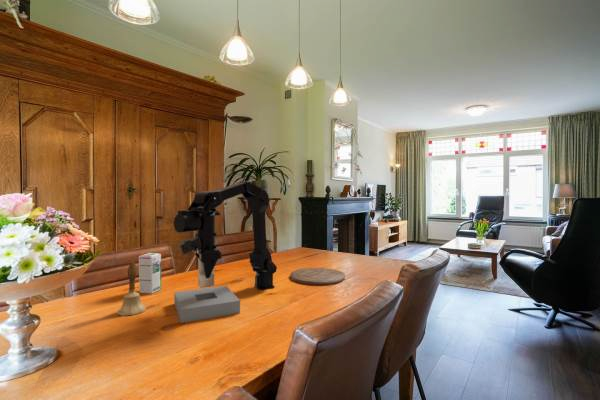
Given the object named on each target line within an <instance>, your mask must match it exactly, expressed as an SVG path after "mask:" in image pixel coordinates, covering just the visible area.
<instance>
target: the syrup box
mask: <svg viewBox="0 0 600 400" xmlns="http://www.w3.org/2000/svg"><path fill="white" fill-rule="evenodd" d="M138 275H139V276H138V279H139V281H138V283H139V285H138V286H139V288H138V290H139V294H140V293H141V294H154V293H156V292H158V291H160V290H162V289H163V288H162V254H161V253H159V252H148V253H145V254H141V255H139V256H138Z"/></svg>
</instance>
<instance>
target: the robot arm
mask: <svg viewBox="0 0 600 400" xmlns="http://www.w3.org/2000/svg"><path fill="white" fill-rule="evenodd" d="M240 195H241V196H242V197H243V198H244V199H245V200H246V201H247V206H248V208H249V210H250V211H251V213H252V226H253V227H252V229H253V230H252V231H253V250H252V252H249V254H248V255H249V263H250V266H251V268H252V271H253V272H255V275H254V286H255V287H256V288H257V289H258V290H266V289H267V290H268V289H271V288H272V289H273V288H275V285H274V274H275V273H276V272H277V268H278V267H277V265H276V264H275V263H274V262H273V260H272V259H273V258H272V253H271V252H270V250H269V249H268V247H267V229H266V227H267V226H266V210H267V209H268V207H269V199H270V198H269V192H267V191H266V190H264V189H262V187H259V186H257V185H255V184H253V183H252V182H251V181H248V180H242V181H241V180H240V181H238V182H236V183H234V184H230V185H228V186H224V187H222V188H219V189H217V190H204V191H199V192H196V193H195V194H194V197H193V198H194V199H192V202H191V203H190V205H189V207H188V208H187V210H181V209H180V210H177V214H176V215H175V217H174V219H173V228H174V230H175V231H176V232H177V233H179V234H181V233H187V232H188V233H189V232H195V233H194V237H191V238H188V239H187V240H184V241H181V242H179V243H178V246H179V249H180V251H181V253H182V255H186V254H188V253H189V252H194V256H196V257H197V259H199V260H200V261H202V262H203V265H204V271H205V276H206V278H210V275H211V273H212V271H213V269H214V270H215V266H216V264H217V262H218V260H222V256H223V255H222V254H223V253H222V252H221V251H220V250H219V249H218V248H217V244H216V236H217V232H216V216H220V215H221V213H220V212H219V211H218V210H217V208H218V207H219V206H221V205H222V204H223V202H224V201H226V200H230V199H231V198H234V197H237V196H240Z"/></svg>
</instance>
